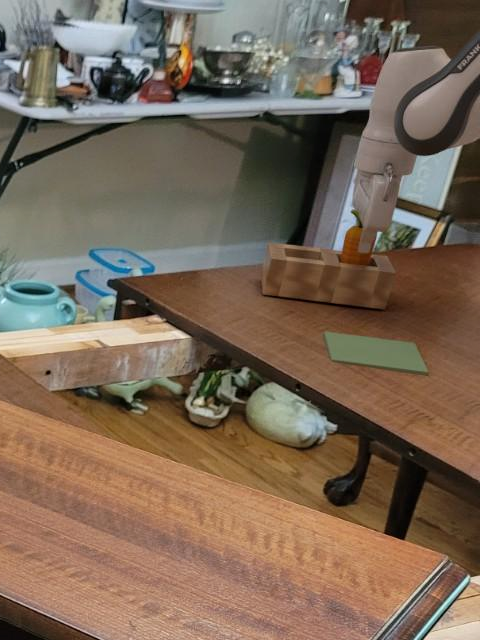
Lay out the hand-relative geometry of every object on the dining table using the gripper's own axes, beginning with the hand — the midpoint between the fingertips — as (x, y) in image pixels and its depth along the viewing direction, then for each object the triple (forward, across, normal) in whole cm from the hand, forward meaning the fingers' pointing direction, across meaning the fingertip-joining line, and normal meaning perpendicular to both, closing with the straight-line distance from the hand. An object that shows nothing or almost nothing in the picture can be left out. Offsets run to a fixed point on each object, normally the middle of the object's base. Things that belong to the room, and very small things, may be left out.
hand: (360, 247), depth 181 cm
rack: (+8, 0, +4) cm, 9 cm away
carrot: (+8, 0, 0) cm, 8 cm away
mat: (+8, -31, -1) cm, 32 cm away
